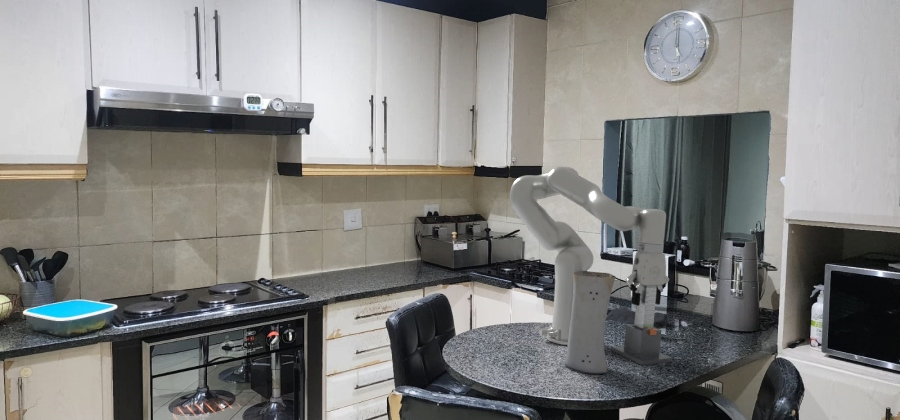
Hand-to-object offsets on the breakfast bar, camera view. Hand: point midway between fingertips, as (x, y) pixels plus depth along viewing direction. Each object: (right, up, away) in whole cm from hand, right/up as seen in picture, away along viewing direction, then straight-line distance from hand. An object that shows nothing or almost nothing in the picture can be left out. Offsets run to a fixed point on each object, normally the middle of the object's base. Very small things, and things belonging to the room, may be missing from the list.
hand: (645, 303), depth 191 cm
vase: (-21, -17, -13) cm, 30 cm away
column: (0, -9, +1) cm, 9 cm away
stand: (-1, -17, +1) cm, 17 cm away
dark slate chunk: (+12, -14, +47) cm, 50 cm away
